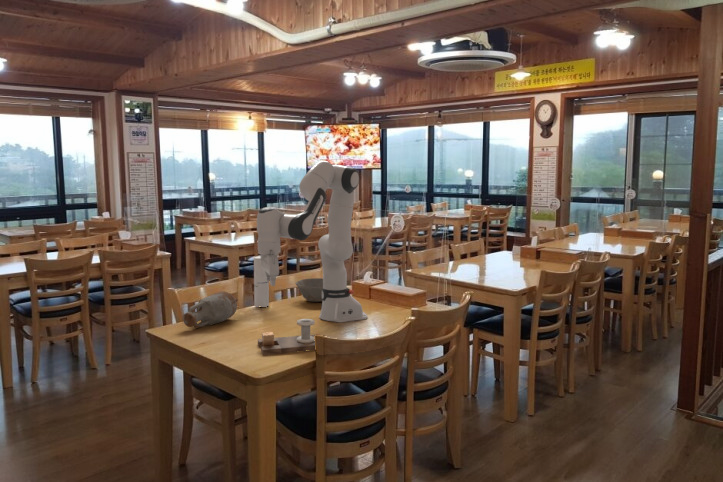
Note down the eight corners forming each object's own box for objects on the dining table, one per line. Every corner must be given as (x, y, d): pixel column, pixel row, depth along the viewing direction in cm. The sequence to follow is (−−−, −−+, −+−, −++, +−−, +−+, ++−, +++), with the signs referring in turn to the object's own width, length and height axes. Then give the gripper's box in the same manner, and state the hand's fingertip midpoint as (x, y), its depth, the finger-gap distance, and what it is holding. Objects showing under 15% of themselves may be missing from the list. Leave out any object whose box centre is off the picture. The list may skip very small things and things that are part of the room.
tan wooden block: (272, 346, 228) (272, 332, 227) (273, 349, 224) (273, 334, 223) (262, 347, 226) (262, 332, 226) (263, 350, 223) (263, 335, 222)
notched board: (316, 339, 238) (316, 334, 238) (324, 349, 225) (324, 344, 224) (257, 343, 231) (257, 339, 230) (262, 354, 217) (262, 349, 217)
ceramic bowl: (343, 297, 314) (343, 279, 312) (331, 307, 292) (331, 287, 290) (304, 294, 319) (304, 276, 317) (289, 304, 296) (289, 285, 295)
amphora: (248, 290, 269) (197, 289, 244) (248, 325, 267) (197, 328, 242) (227, 292, 276) (176, 291, 251) (227, 326, 274) (175, 328, 249)
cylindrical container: (265, 308, 287) (265, 258, 284) (252, 307, 289) (251, 258, 285) (270, 305, 294) (270, 256, 291) (257, 304, 295) (257, 255, 292)
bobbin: (312, 337, 234) (312, 318, 233) (316, 342, 227) (316, 322, 226) (295, 338, 231) (295, 319, 230) (298, 344, 225) (298, 324, 224)
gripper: (282, 252, 218) (283, 287, 220) (272, 244, 237) (274, 277, 239) (265, 253, 216) (267, 289, 218) (257, 245, 235) (259, 278, 237)
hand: (270, 283), depth 229 cm, fingers open, 8 cm apart
